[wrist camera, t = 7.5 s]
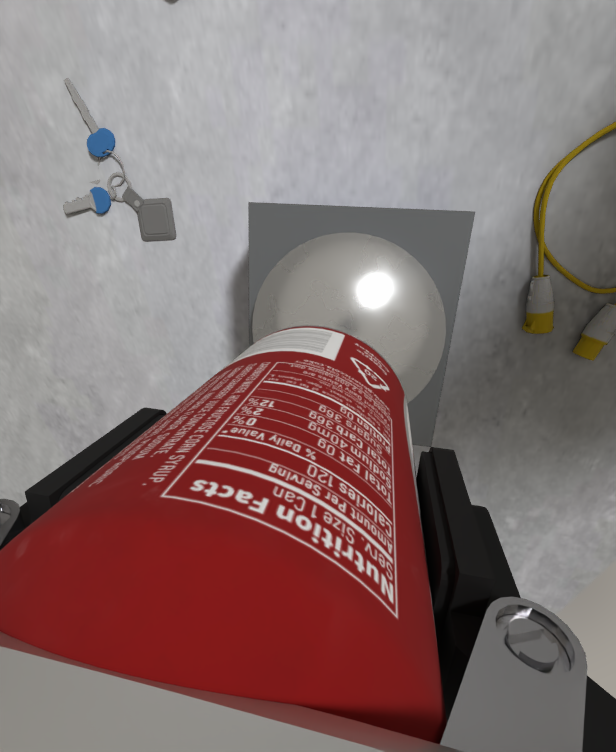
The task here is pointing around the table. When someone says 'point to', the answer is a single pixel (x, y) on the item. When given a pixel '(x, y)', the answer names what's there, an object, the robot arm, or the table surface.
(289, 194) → the table surface
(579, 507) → the table surface
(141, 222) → the key chain
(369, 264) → the scale pan
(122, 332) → the table surface
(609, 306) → the extension cord
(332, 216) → the scale
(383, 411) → the soda can
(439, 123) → the table surface
